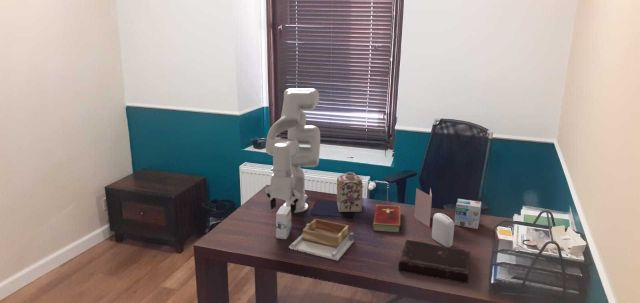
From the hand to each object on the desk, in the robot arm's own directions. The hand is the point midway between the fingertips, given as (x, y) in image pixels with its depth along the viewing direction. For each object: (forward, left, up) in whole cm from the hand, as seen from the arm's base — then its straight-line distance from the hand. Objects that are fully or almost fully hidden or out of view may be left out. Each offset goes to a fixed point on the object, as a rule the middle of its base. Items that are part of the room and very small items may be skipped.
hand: (283, 209), depth 195 cm
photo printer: (-24, +64, -12) cm, 69 cm away
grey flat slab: (+1, +19, -12) cm, 22 cm away
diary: (-4, +65, -13) cm, 66 cm away
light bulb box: (-46, +71, -12) cm, 85 cm away
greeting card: (-40, +52, -12) cm, 66 cm away
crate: (-3, +19, -11) cm, 22 cm away
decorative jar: (-40, +15, -12) cm, 44 cm away
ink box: (-1, 0, -12) cm, 12 cm away
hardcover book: (-33, +37, -13) cm, 51 cm away
